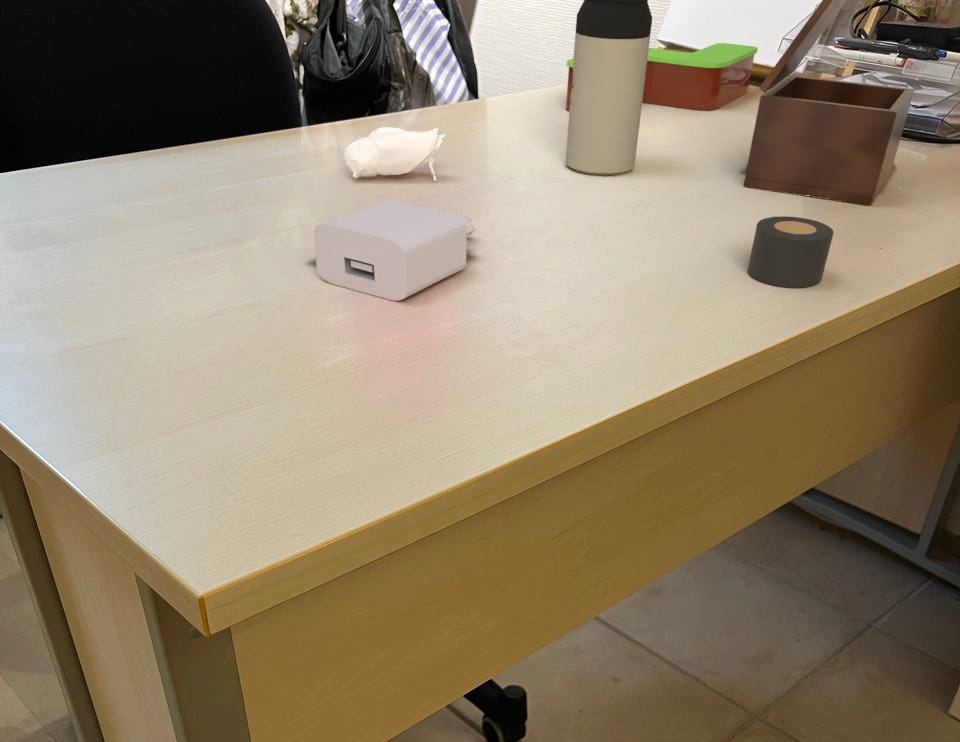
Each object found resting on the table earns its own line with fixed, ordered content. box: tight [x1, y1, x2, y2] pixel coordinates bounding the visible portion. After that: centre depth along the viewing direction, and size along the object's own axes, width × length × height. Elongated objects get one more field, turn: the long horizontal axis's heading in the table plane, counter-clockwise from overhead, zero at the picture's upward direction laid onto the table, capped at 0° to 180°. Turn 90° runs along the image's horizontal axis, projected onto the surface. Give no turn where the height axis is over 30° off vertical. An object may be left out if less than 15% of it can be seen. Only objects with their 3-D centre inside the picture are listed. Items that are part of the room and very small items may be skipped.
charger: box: [313, 198, 476, 301], centre depth 81 cm, size 5×9×15 cm
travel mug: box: [565, 0, 653, 176], centre depth 103 cm, size 8×8×18 cm
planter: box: [565, 42, 758, 112], centre depth 137 cm, size 30×18×6 cm, turn 150°
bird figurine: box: [343, 126, 446, 182], centre depth 102 cm, size 5×7×10 cm
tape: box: [747, 216, 835, 289], centre depth 82 cm, size 6×6×4 cm
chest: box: [743, 74, 915, 207], centre depth 104 cm, size 14×14×9 cm
